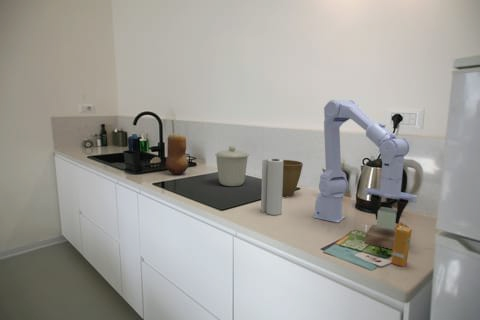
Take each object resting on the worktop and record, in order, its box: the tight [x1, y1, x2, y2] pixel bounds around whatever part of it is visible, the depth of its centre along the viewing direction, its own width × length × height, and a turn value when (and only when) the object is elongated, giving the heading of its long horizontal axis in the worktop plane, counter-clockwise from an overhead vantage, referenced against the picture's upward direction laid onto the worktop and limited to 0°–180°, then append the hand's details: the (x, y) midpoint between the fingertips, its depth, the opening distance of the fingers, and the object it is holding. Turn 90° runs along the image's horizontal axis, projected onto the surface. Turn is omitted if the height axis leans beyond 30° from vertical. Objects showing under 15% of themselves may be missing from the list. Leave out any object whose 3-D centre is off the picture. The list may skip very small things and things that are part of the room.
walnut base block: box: [364, 224, 396, 251], centre depth 99 cm, size 10×10×3 cm
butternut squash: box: [165, 133, 189, 176], centre depth 193 cm, size 14×13×25 cm
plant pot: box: [282, 159, 304, 197], centre depth 150 cm, size 15×15×16 cm
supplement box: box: [390, 226, 412, 268], centre depth 84 cm, size 3×3×10 cm
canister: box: [214, 145, 250, 187], centre depth 169 cm, size 18×18×21 cm
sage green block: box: [376, 206, 397, 230], centre depth 98 cm, size 5×5×5 cm
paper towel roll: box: [260, 158, 284, 216], centre depth 123 cm, size 7×6×21 cm
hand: (387, 220), depth 98 cm, fingers closed on sage green block, 5 cm apart
